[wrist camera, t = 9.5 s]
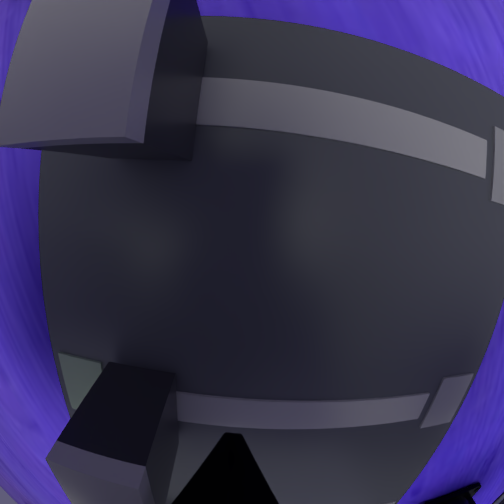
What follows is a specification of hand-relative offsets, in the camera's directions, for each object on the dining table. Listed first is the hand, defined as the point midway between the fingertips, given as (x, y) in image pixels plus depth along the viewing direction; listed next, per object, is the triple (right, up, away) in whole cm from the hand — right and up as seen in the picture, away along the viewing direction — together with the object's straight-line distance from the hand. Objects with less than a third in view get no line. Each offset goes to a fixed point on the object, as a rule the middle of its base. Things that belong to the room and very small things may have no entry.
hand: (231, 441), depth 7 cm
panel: (+1, 0, +3) cm, 3 cm away
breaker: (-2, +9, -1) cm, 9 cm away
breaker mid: (-3, 0, +1) cm, 3 cm away
